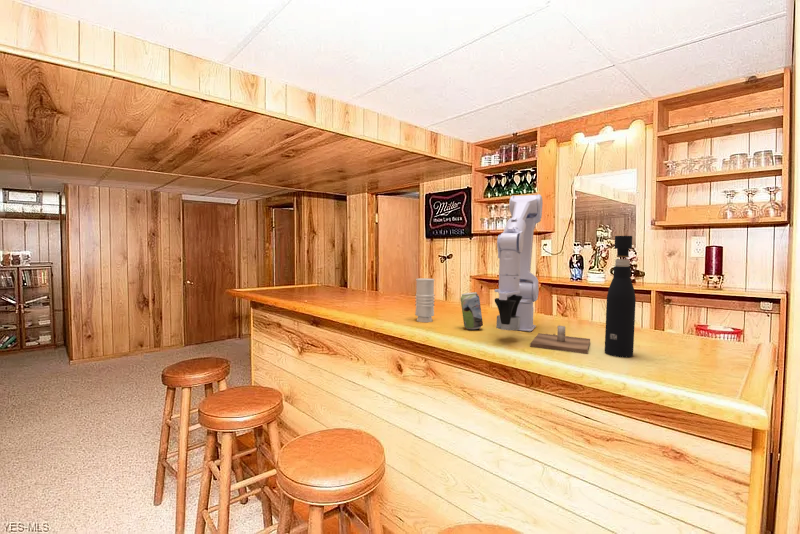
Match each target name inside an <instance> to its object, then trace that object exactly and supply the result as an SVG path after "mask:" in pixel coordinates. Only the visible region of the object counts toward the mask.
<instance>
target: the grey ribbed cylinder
mask: <svg viewBox="0 0 800 534" xmlns="http://www.w3.org/2000/svg"><path fill="white" fill-rule="evenodd" d="M415 281H416V286H415V287H416V290H415V292H416V294H415V297H414V298H415V305H414V306H415V316H416V317H417V318H416V322H418V323H419V322H420V323H431V322H433V321H434V320H433V318H432V317H433V316H435V310H434V309H435V304H434V303H435V295H436V294H435V293H434V292H435V281H436V280H435V278H426V277H425V278H424V277H423V278H422V277H421V278H420V277H419V278H415Z"/></svg>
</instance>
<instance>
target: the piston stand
mask: <svg viewBox="0 0 800 534" xmlns="http://www.w3.org/2000/svg"><path fill="white" fill-rule="evenodd" d="M556 331H557V334H550V333H549V334H548V333H541V332H540V333H539V332H538V333H537V334H536V336H535V337H534V338H533V339H532V341H531V342H530V343H529V345H530V347H531V348H539V349H546V350H553V351H554V350H555V351H561V352H562V351H563V352H568V353H570V352H571V353H578V354H586V355H588V354H589V348H590V343H591V338H585V337H579V336H578V337H576V336H570V335H569V336H567V335H566V326H565V325H557V330H556Z"/></svg>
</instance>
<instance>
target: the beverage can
mask: <svg viewBox="0 0 800 534" xmlns="http://www.w3.org/2000/svg"><path fill="white" fill-rule="evenodd" d="M460 305H461V311H462V312H461V314H462V318H463V327H464V328H466V330H478V329H481V328H482V327H483V326H484V325H483V324H484V323H483V317H482V316H483V315H482V308H481V300H480V296H479V294H478V292H476V291H474V292H472V291H471V292H464V293H461V296H460Z"/></svg>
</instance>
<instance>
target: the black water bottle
mask: <svg viewBox="0 0 800 534" xmlns="http://www.w3.org/2000/svg"><path fill="white" fill-rule="evenodd" d="M614 249H615V250H617V252H616V253H617V254H616V257H617V258H615V260H614V262H615V263H614V266H613V277H612V279H611V282H610V284H609V287H608V290H607V295H606V304H605V306H606V307H605V309H606V310H605V311H606V312H605V331H604V333H605V335H604V336H605V337H604V354H606V355H608V356H611V357H616V358H617V357H618V358H632V357H634V346H635V345H634V344H635V323H636V322H635V321H636V301H637V300H636V298H637V297H636V293H635V289H634V288H635V287H634V285H633V281H632V278H631V274H632V273H631V271H632V270H631V269H632V267H631V264H630V263H631V261H630V259H626V258H629V257H630V256H629V252H630V250H632V249H633V235H615V236H614ZM619 258H620V259H619Z"/></svg>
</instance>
